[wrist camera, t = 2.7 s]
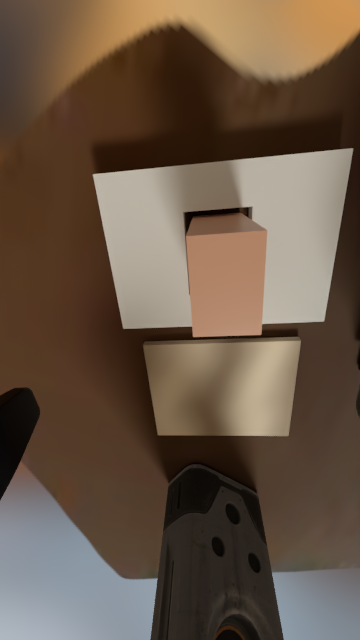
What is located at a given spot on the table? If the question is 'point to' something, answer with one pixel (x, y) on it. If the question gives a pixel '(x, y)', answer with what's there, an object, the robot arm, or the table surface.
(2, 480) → the robot arm
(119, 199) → the white slotted plate
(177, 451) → the table surface
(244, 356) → the pad
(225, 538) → the electronic device
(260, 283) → the plug
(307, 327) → the table surface
